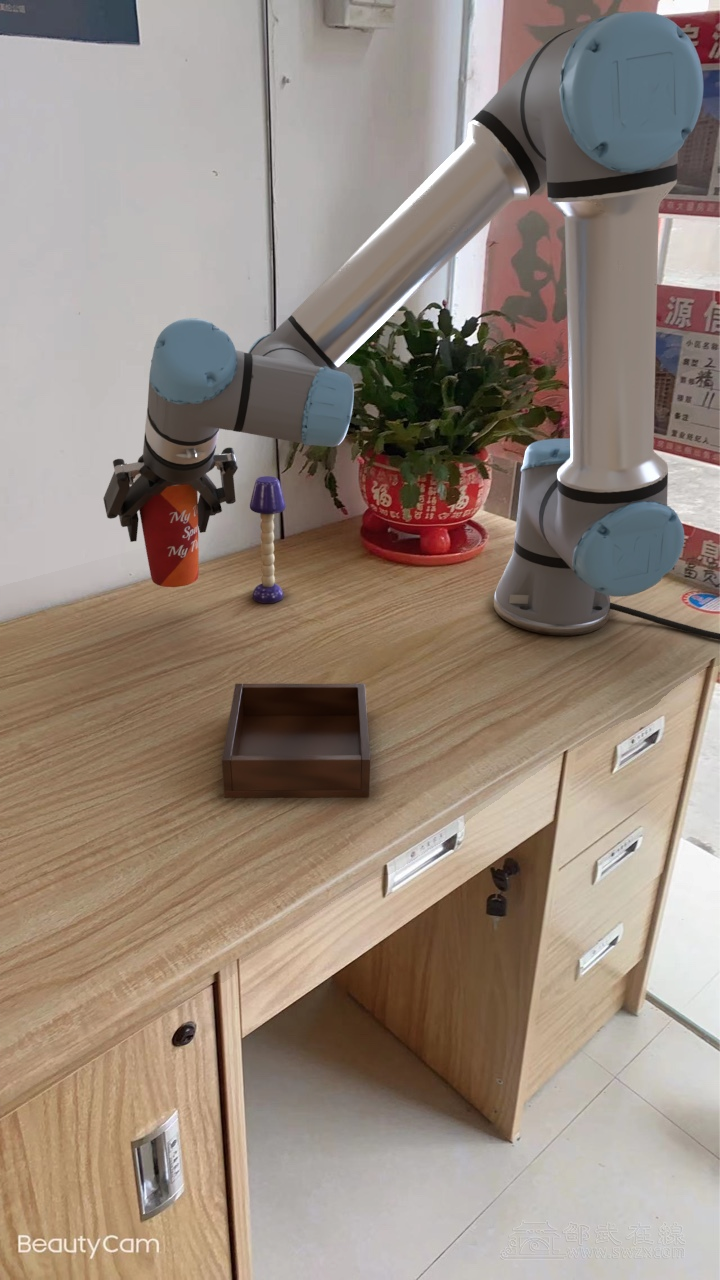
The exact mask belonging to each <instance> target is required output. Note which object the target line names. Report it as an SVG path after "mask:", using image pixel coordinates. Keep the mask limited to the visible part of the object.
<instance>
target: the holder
mask: <svg viewBox="0 0 720 1280" xmlns="http://www.w3.org/2000/svg"><path fill="white" fill-rule="evenodd" d="M366 694H367V693H366V684H365V683H235V684H234V690H233V694H232V695H233V696H232V701H231V706H230V712H229V718H228V723H227V727H226V728H227V730H226V734H225V741H224V745H223V752H222V758H221V766H222V768H221V769H222V771H221V772H222V783H223V784H222V785H223V786H222V787H223V797H224V798H369V797H370V783H371V781H370V780H371V751H370V738H369V737H370V735H369V723H368V721H369V720H368V710H367V709H368V708H367V695H366Z"/></svg>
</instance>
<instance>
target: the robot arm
mask: <svg viewBox="0 0 720 1280" xmlns="http://www.w3.org/2000/svg"><path fill="white" fill-rule="evenodd" d="M703 98H704V74H703V69H702V64H701V60H700V57H699V53H698V52H697V49H696V46H695V45H694V43H693V42H692V40H691V38H690V37H689V36H688V34H686V32H685V31H683V29H682V28H681V27H680V26H679V25H677V23H676V22H675V21H673V20H671V19H670V18H668V17H667V16H664V15H662V14H659V13H655V12H651V11H644V10H643V11H642V10H641V11H640V10H639V11H629V12H618V11H617V12H614V13H612V14H609V15H607V16H601V17H599V18H596V19H595V20H593V21H591V22H588V23H587V24H584V25H581V26H578V27H576V28H571V29H568V30H566V31H563V32H561V33H559V34H557V35H554V36H551V38H549V39H548V40H547V41H545V42H544V43H543V44H542V45H541V46H539V47H538V48H537V49H535V51H534V52H533V53H532V54H530V56H529V57H528V58H527V59H526V60H525V61H524V62H523V63H522V64H521V66H520V67H519V68H518V69H517V70H516V71H515V72H514V73H513V74H512V75H511V77H510V78H508V80H507V81H506V82H505V83H504V84H503V85H502V87H500V89H499V90H498V91H497V92H496V93H495V94H494V95H493V97H492V98H490V100H489V101H488V102H487V103H486V104H485V106H484V107H482V109H481V110H480V111H479V112H478V113H477V114H476V115H475V116H474V117H473V118H472V119H471V120H469V122H468V123H467V124H466V135H465V136H466V137H465V140H464V141H463V142H462V143H461V144H460V145H459V146H458V147H457V148H456V149H455V150H454V152H452V153H451V154H450V155H449V156H448V157H447V158H446V159H445V161H444V162H442V163H441V164H440V165H439V166H438V167H437V169H435V170H434V171H433V172H432V174H430V175H429V176H428V177H427V178H426V179H425V180H424V181H423V182H422V183H421V184H420V185H419V186H418V187H417V188H416V189H415V190H414V192H412V193H411V194H410V195H409V196H408V197H407V198H406V199H405V200H404V201H403V202H402V203H401V204H400V205H399V206H398V207H397V208H396V209H395V210H394V211H393V212H392V213H391V214H390V215H389V216H388V217H387V218H386V220H384V221H383V222H382V223H381V224H380V225H379V227H377V228H376V229H375V230H374V231H373V232H372V233H371V234H370V235H369V237H367V238H366V239H365V240H364V241H363V242H362V243H361V244H360V245H359V246H358V247H357V248H356V249H355V250H354V251H353V252H352V253H351V254H350V255H349V256H348V257H347V258H346V259H345V260H344V261H343V262H342V263H341V264H340V265H339V266H338V267H337V268H336V269H335V270H334V271H333V272H332V273H331V274H330V275H329V276H328V277H327V278H326V279H325V280H323V282H322V283H321V284H320V285H319V286H318V287H317V288H316V289H314V291H313V292H312V293H311V294H310V295H309V296H308V297H307V298H306V299H305V300H304V301H303V302H302V303H301V304H300V305H299V306H298V307H297V308H296V309H295V310H294V311H293V312H292V313H291V314H290V316H289V317H287V318H286V320H283V322H282V323H281V324H280V325H279V326H277V328H276V329H275V330H274V331H273V332H272V333H268V334H265V335H263V336H261V337H259V338H258V339H257V340H256V341H254V343H252V345H251V346H250V348H249V350H248V352H244V351H243V350H236V347H235V344H234V342H233V340H232V339H231V337H230V336H229V334H228V333H227V332H226V331H225V330H223V329H220V328H219V327H217V326H216V325H215V324H213V322H211V321H208V320H205V319H201V318H193V317H192V318H182V319H179V320H176V321H173V322H171V323H169V324H168V325H167V326H166V327H165V328H163V330H162V331H161V332H160V333H159V335H158V337H157V338H156V341H155V344H154V346H153V352H152V358H151V360H150V368H149V377H148V394H147V409H146V415H145V416H146V417H145V427H144V438H143V446H142V447H143V448H142V454H141V456H139V457H138V458H137V462H132V463H131V462H130V463H128V462H127V463H125V460H124V459H123V458H116V459H114V460H113V461H112V466H113V469H114V472H113V474H112V476H111V479H110V481H109V484H108V486H107V488H106V491H105V494H104V496H103V504H104V508H105V513H106V514H105V515H106V517H107V519H110V520H112V519H117V518H118V517H119V522H120V526H121V528H126V527H127V532H128V537H129V541H130V543H133V542H137V541H138V540H137V539H138V529H139V520H140V519H139V514H138V512H140V511H139V510H140V509H141V508H142V507H143V506H144V505H145V504H146V503H147V502H148V501H149V500H150V499H151V498H152V497H153V496H154V495H159V494H160V493H161V492H162V491H163V490H164V489H165V488H166V487H168V486H169V487H170V486H173V485H186V484H190V485H191V486H192V487H193V489H194V490H195V491H196V490H197V493H199V497H198V532H199V533H200V534H202V533H206V532H207V528H208V524H209V521H210V517H211V516H216V515H217V514H220V513H222V512H223V508H222V505H221V504H223V503H226V504H227V505H231V504H234V503H236V501H237V500H236V492H235V479H234V478H235V477H234V475H235V474H236V472H237V470H238V469H239V466H238V462H237V459H236V455H235V451H234V448H233V447H225V448H223V450H222V452H221V453H215V452H216V448H217V443H218V440H219V435H220V430H225V431H232V432H237V433H244V434H249V435H254V436H260V437H266V438H270V439H276V440H281V441H288V442H291V443H292V442H293V443H298V444H303V445H304V446H306V447H310V446H317V447H318V446H319V447H329V448H334V447H337V446H339V445H340V444H341V443H342V442H343V441H344V440H345V438H346V436H347V433H348V430H349V426H350V423H351V419H352V414H353V408H354V397H355V387H354V382H353V380H352V377H351V376H350V374H348V373H346V372H343V371H339V370H338V368H339V367H340V366H341V365H342V364H343V363H344V362H346V360H347V359H348V358H349V357H350V356H351V355H353V354H354V353H355V352H356V351H357V350H358V349H359V348H360V347H361V346H362V345H363V344H365V342H366V341H367V340H368V339H369V338H370V337H371V336H372V335H373V334H374V333H375V332H377V330H379V329H380V328H381V327H382V326H383V325H384V324H385V323H386V322H387V321H388V320H389V319H390V318H392V316H393V315H394V314H396V312H397V311H399V310H400V308H401V307H403V306H404V305H405V304H406V303H407V302H408V301H409V300H410V299H411V298H412V297H413V296H414V295H416V293H417V292H418V291H420V289H421V288H422V287H424V286H425V284H427V282H429V281H430V280H431V279H432V278H433V277H434V276H435V275H436V274H437V273H438V272H439V271H440V270H441V269H442V268H443V267H444V266H445V265H447V263H449V262H450V261H451V260H452V259H453V258H454V257H455V256H456V255H457V254H458V253H459V252H460V251H461V250H462V249H463V248H464V247H465V246H466V245H467V244H468V243H470V241H472V239H473V238H474V237H476V235H478V234H479V233H480V232H481V231H482V230H483V229H484V228H485V227H486V226H488V225H489V223H490V222H491V221H492V220H493V219H494V218H496V216H498V215H499V213H501V212H502V211H503V210H504V209H505V208H506V207H507V206H508V205H509V204H510V203H511V202H513V201H519V202H520V201H521V202H522V201H523V202H526V201H527V200H528V199H530V198H531V197H532V196H533V195H534V194H535V193H536V192H537V191H538V190H539V189H540V188H541V187H543V186H544V185H545V184H546V189H547V190H546V191H547V193H546V194H547V201H548V202H549V204H551V205H552V206H553V207H554V208H555V209H556V210H557V211H558V212H559V214H561V215H562V217H563V218H564V241H565V242H564V245H565V281H566V283H565V285H566V319H567V323H566V324H567V325H566V326H567V355H568V356H567V359H568V363H567V364H568V395H569V397H568V398H569V399H568V400H569V436H570V438H547V439H540V440H537V441H534V442H532V443H530V444H528V445H527V447H526V449H525V450H524V451H525V452H524V457H523V461H522V466H521V467H520V472H521V474H520V475H521V476H520V485H519V493H518V504H517V514H516V522H515V523H516V524H515V534H514V541H513V542H514V543H513V549H512V554H511V556H510V558H509V560H508V562H507V565H506V566H505V569H504V571H503V572H502V575H501V578H500V580H499V581H498V584H497V586H496V590H495V592H494V598H493V607H494V610H495V612H496V614H497V615H498V616H499V617H500V618H502V620H504V621H506V622H508V623H509V624H511V625H513V626H514V627H518V628H520V629H522V630H526V631H528V632H532V633H538V634H542V635H548V636H549V635H550V636H577V635H579V636H580V635H585V634H589V633H592V632H596V631H597V630H599V629H601V628H602V627H604V626H605V625H606V624H607V622H608V621H609V619H610V618H609V617H610V611H611V610H612V611H616V612H618V613H619V612H620V613H622V614H626V615H629V616H633V617H637V618H639V619H643V620H646V621H649V622H653V623H656V624H658V625H662V626H665V627H669V628H673V629H676V630H680V631H683V632H687V633H690V634H693V635H697V636H701V637H705V638H709V639H714V640H717V641H720V633H719V632H715V631H712V630H711V631H710V630H706V629H702V628H698V627H695V626H691V625H688V624H684V623H680V622H677V621H673V620H670V619H667V618H663V617H660V616H657V615H654V614H651V613H648V612H644V611H641V610H637V609H634V608H631V607H628V606H623V605H619V604H617V603H613V602H611V598H610V597H617V598H618V597H619V598H621V597H622V598H623V597H630V596H633V595H637V594H640V593H643V592H645V591H648V590H649V589H651V588H652V587H654V586H656V585H657V584H659V583H660V582H661V581H662V578H663V577H665V576H666V575H667V574H669V573H670V572H671V571H672V570H673V568H674V567H675V566H676V564H678V562H679V559H680V557H681V555H682V552H683V549H684V545H685V544H684V543H685V529H684V525H683V523H682V521H681V519H680V517H679V515H678V513H677V512H676V511H675V510H674V509H673V508H671V506H669V505H668V489H669V488H668V487H669V486H668V484H669V466H668V463H667V462H666V461H665V460H664V459H663V458H662V457H661V456H659V455H658V454H657V453H656V452H655V450H654V444H655V443H654V437H655V401H656V400H655V399H656V398H655V396H656V395H655V394H656V354H657V352H656V351H657V349H656V347H657V307H658V259H659V258H658V256H659V219H660V217H659V214H660V213H659V212H660V206H661V202H662V201H663V200H664V199H665V197H666V196H667V195H669V193H670V192H671V191H672V190H673V188H674V187H675V186H676V185H677V183H678V165H679V164H678V163H679V161H678V160H679V150H681V148H682V147H683V146H684V143H685V142H686V141H687V139H688V137H689V135H690V134H691V133H692V132H693V131H694V128H695V127H696V125H697V122H698V119H699V117H700V112H701V109H702V104H703ZM215 467H216V470H218V471H219V474H220V483H221V487H217V486H216V485H215V483H214V482H213V481H212V479H211V478H210V477H209V475H208V474H207V473H209V472H210V471H212V470H213V469H214V468H215ZM138 474H141V476H140V477H139V478H138V479H137V480H136V481H135V482H134V481H133V479H134V478H135V476H136V475H138Z"/></svg>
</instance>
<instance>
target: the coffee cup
mask: <svg viewBox="0 0 720 1280" xmlns="http://www.w3.org/2000/svg"><path fill="white" fill-rule="evenodd" d="M140 476H141V474H138V475H136V476H135V478H134V479H133V482H135V481H136V480H137V479H138V478H139V477H140ZM198 493H199V492H198V491H197V490H196V491H195V490H194V489H193V487H192V486H191V485H190V484H186V485H173V486H170V487H169V486H168V487H166V488H165V489H164V490H163V491H162V492H161V493H160V494H159V495H154V496H153V497H152V498H151V499H150V500H149V501H148V502H147V503H146V504H145V505H144V506H143V507H142V508H141V509H140V510H139V511H138V512H139V516H140V523H141V528H142V533H143V539H144V545H145V551H146V557H147V563H148V568H149V573H150V577H151V578H150V579H151V581H152V583H153V584H155V585H157V586H160V587H163V588H179V587H185V586H188V585H191V584H193V583H195V582H196V581H197V580H198V579H199V570H200V568H199V566H200V565H199V564H200V562H199V560H200V558H199V557H200V555H199V554H200V553H199V551H200V549H199V527H198V501H199V497H198Z"/></svg>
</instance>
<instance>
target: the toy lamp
mask: <svg viewBox="0 0 720 1280" xmlns="http://www.w3.org/2000/svg"><path fill="white" fill-rule="evenodd" d="M286 506H287V505H286V501H285V497H284V493H283V490H282V485H281V482H280V480H279V479H278V478H277V477H276V476H271V475H266V476H259V477H257V478H256V480H255V482H254V486H253V489H252V494H251V498H250V502H249V508H250V510H251V511H252V512H254V513H256V514H260V515H259V517H260V520H261V521H260V530H261V533H260V541H261V544H260V551H261V555H260V556H261V557H260V561H261V567H260V568H261V571H260V572H261V574H262V575H261V579H260V580H261V583H260V584H257V586H256V587H254V590H253V592H252V599H253V600H254V601H255V602H258V603H261V604H274V603H277V602H278V603H279V602H280V601H282V600H283V599H284V592H283V589H282V588H281V586H279V585H278V584H276V583H275V582H276V581H275V580H276V579H275V578H276V577H275V575H274V574H275V565H274V563H275V554H274V551H275V544H274V541H275V533H274V529H275V524H274V523H275V522H274V518H275V514H281V513H282V512H284V511H285V510H286Z"/></svg>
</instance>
